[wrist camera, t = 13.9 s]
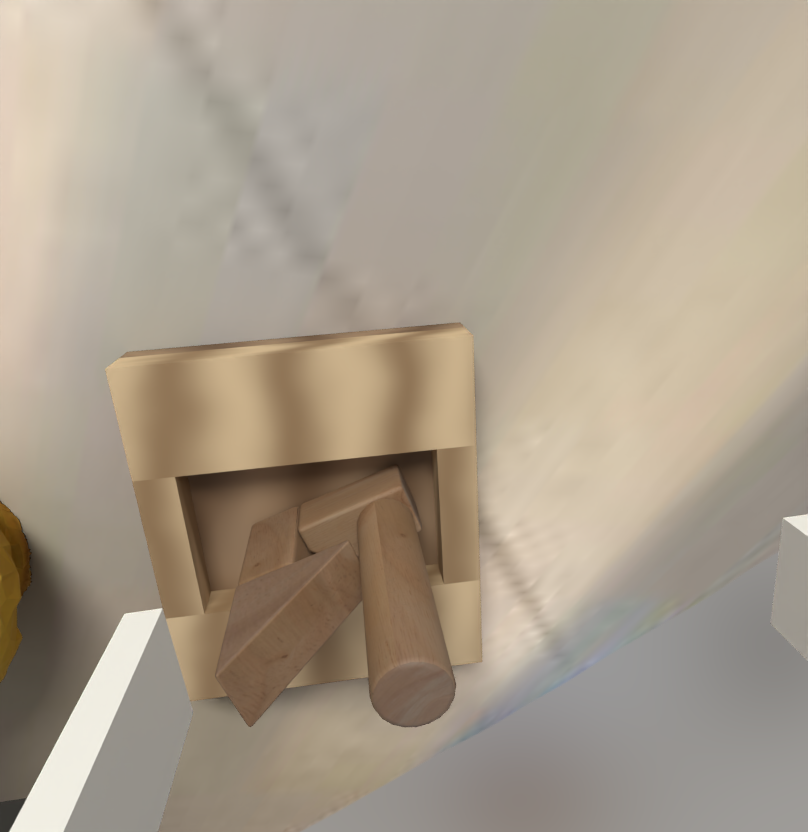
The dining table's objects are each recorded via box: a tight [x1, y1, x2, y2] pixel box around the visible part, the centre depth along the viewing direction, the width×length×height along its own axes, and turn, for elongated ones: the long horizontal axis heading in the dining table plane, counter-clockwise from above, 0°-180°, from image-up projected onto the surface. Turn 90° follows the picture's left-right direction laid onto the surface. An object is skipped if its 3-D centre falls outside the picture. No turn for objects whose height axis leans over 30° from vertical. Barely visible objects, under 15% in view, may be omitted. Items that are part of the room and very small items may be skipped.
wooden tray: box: [105, 323, 482, 701], centre depth 41 cm, size 21×24×4 cm
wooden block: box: [215, 465, 456, 727], centre depth 33 cm, size 4×11×18 cm, turn 112°
